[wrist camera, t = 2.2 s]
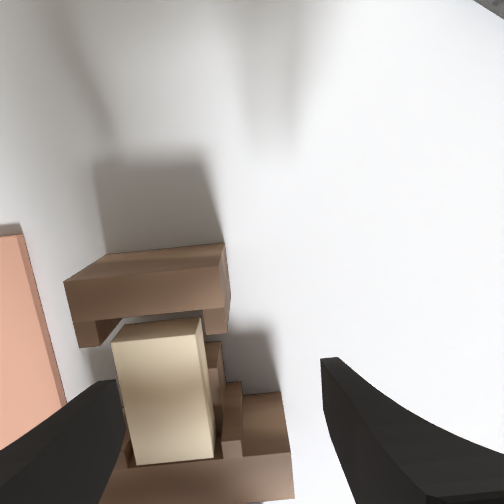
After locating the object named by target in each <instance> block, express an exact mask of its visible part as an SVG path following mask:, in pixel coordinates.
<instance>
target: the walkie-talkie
mask: <svg viewBox="0 0 504 504" xmlns="http://www.w3.org/2000/svg"><path fill="white" fill-rule="evenodd" d="M474 1H475V2H477V3H479V4H480V5H482V6H483V7H485V8H487V9H488V10H490V11H491V12H493V13H495V14H496V15H498V16H499V17H501V18H502V19H504V0H474Z"/></svg>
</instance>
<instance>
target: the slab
mask: <svg viewBox="0 0 504 504" xmlns="http://www.w3.org/2000/svg"><path fill="white" fill-rule="evenodd" d="M111 348H112V353H113V357H114V362H115V367H116V371H117V376H118V381H119V385H120V390H121V395H122V399H123V404H124V409H125V413H126V418H127V423H128V427H129V432H130V437H131V441H132V446H133V451H134V455H135V460H136V465H146V464H156V463H166V462H176V461H186V460H196V459H206V458H214V449H215V439H216V430H217V429H216V422H215V415H214V408H213V401H212V394H211V388H210V381H209V374H208V367H207V360H206V353H205V346H204V339H203V332H202V325H201V318H200V317H193V318H183V319H173V320H164V321H154V322H144V323H134V324H125V325H124V326H123V327H122V329H121V330H120V331H119V332H118V334H117V335H116V336H115V338H114V339H113V340H112V342H111Z"/></svg>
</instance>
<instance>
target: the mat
mask: <svg viewBox="0 0 504 504" xmlns="http://www.w3.org/2000/svg"><path fill="white" fill-rule="evenodd" d="M66 404H67V402H66V398H65V394H64V391H63V387H62V383H61V379H60V375H59V371H58V367H57V364H56V360H55V356H54V352H53V348H52V344H51V341H50V337H49V333H48V329H47V325H46V321H45V317H44V314H43V310H42V306H41V302H40V298H39V294H38V290H37V287H36V283H35V279H34V275H33V271H32V267H31V264H30V260H29V256H28V252H27V248H26V244H25V240H24V237H23V234H18V235H8V236H0V450H2V449H3V448H5V447H6V446H8V445H9V444H11V443H12V442H14V441H15V440H17V439H18V438H20V437H21V436H23V435H24V434H26V433H27V432H28V431H30V430H31V429H33V428H34V427H36V426H37V425H38V424H40V423H41V422H43V421H44V420H46V419H47V418H48V417H50V416H51V415H52V414H54V413H55V412H56V411H58V410H59V409H60V408H62V407H63V406H64V405H66Z"/></svg>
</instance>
